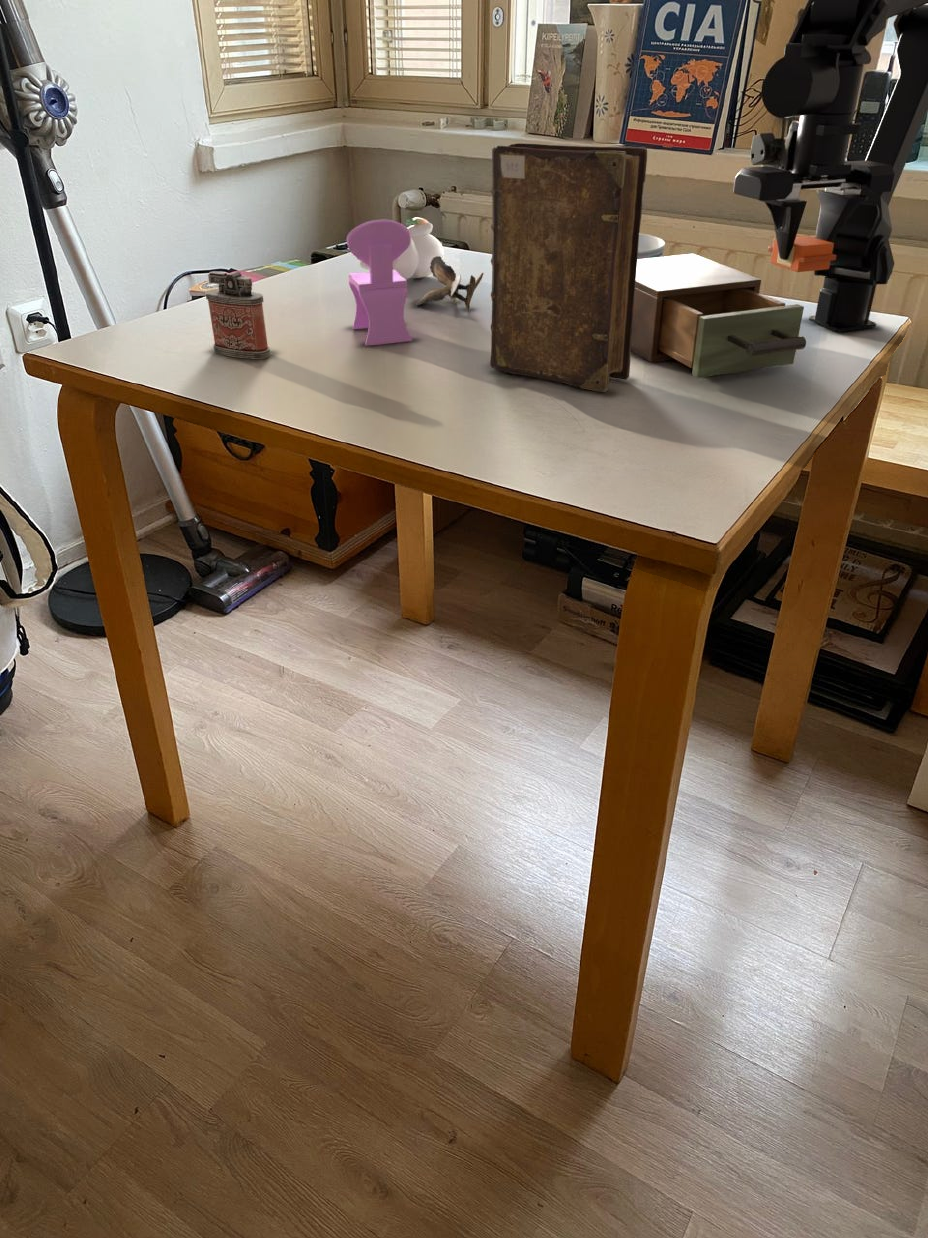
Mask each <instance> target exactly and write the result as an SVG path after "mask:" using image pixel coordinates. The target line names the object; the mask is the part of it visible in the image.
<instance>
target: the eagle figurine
mask: <svg viewBox="0 0 928 1238" xmlns="http://www.w3.org/2000/svg"><path fill="white" fill-rule="evenodd" d="M430 264H431V266H430V269H431V272H432V273H433V274H432V276H433V278H435V279H436V280H437V282H438V283H440V284H441V285H444V286H443V287H441V288H437V289H436V288H435V289H432V290H430V291H428V292H427V293H425V294H424V295H423V297H421V299H420V300H418V301H416V302H415V306H420V305H423V304H425V303H428V302H432V301H433V302H439V301H442V300H443V299H445V297H447V296H448V297H449V298H450V301H452V302H453V303H455V304H457V299H458V300H459V301H461V302H464V306H465V308H466V309H467V311H469V310H470V306H471V305H470V304H471V301H472V298H473V295H474V293H475V290H476V289H477V287H478V286H479V284H480V283H481V281H482V279H483V276H484V273H485V272H481V274H480V275H479V276H478V278H477V279H476V278H475V276H473V275H472V274H471V275H470V278H469V282H468V283H467V284H466V285H465V284H462V283H461V281H462V275H461V274H459V276H458V277H457V274H456V272H455V270H454V269H453V267H452V266H451V265H448V264H447V263H446V261H444V259H443V260H442V258H441V257H440V256H439V257H438V256H436V257H434V258H433V259H432V260H431V263H430ZM459 290H460V291H463V290H464V291H466V295H465V296H463V294H460V293H459Z"/></svg>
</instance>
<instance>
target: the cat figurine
mask: <svg viewBox="0 0 928 1238" xmlns="http://www.w3.org/2000/svg"><path fill="white" fill-rule="evenodd" d="M405 222H406V223H405V226H408V227H407V228H408V230H409V232H410V236H411V240H410V245H409V247H408V248H407V249H406V250H405V251H404V252H403V253H402V254H401V255H400V256H399V257H398V258H397V259H395V260H394V261H393V270H396V271H397V272H398V273H399V275H400V276H401V277H403V278H405V279H406V280H407V281H408V280H409V279H410V278H411V279H421V278H425V277H428V276H431V275H433V273H432V272H431V269H430V266H431V264H430V263H431V260H432V259H433V258H434V257H436V256H438V257H439V256H440V257H441V258H442V260H443V261H444V259H445V251H444V247H443V244H442V243H441V241H440V240H439V239H437V238H436V237H435V236H434V235H432V234H431V233H432V232H433V229H434V228H433V227H434V226H433V224H432V223H431V222H429V221H428V220H427V219H425V218H422V217H419V216H418V217H413V218H412V217H410V218H407V219H406V220H405ZM412 224H413V225H412ZM359 266H360V268H361V269H363V270H368V271H369V266H368V265H367V264H365V263H364V262H362V261H360V260H359Z"/></svg>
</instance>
